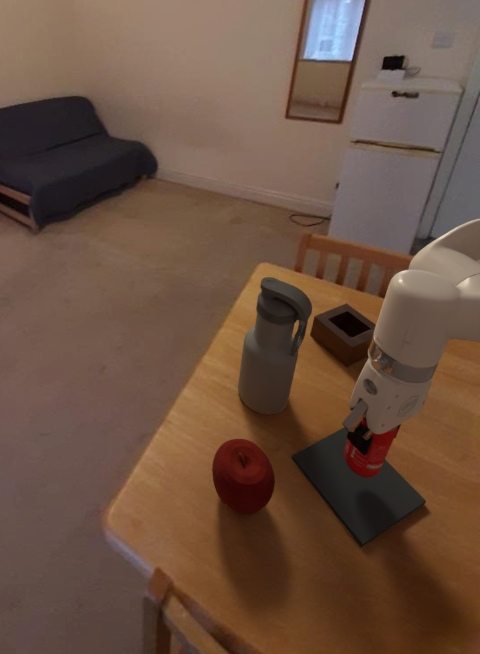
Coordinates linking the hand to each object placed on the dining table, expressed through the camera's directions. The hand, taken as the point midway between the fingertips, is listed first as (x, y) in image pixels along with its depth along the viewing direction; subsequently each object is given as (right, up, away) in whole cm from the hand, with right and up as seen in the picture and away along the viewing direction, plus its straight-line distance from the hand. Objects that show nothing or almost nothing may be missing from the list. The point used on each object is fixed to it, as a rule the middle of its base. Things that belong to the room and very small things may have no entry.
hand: (370, 437), depth 63 cm
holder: (+13, +3, +31) cm, 34 cm away
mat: (0, -10, +5) cm, 12 cm away
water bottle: (-10, -4, +20) cm, 23 cm away
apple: (-19, -12, +4) cm, 23 cm away
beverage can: (0, -6, +3) cm, 7 cm away
